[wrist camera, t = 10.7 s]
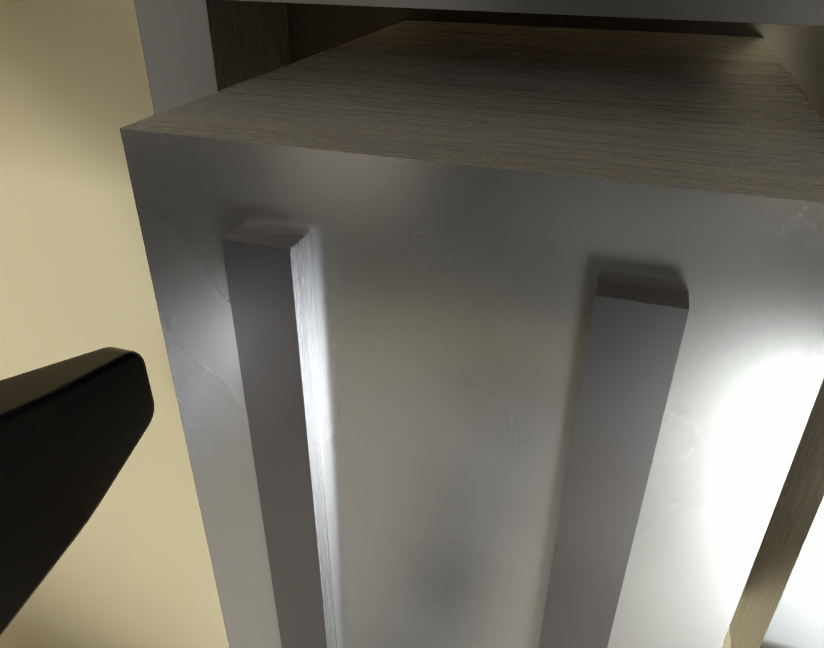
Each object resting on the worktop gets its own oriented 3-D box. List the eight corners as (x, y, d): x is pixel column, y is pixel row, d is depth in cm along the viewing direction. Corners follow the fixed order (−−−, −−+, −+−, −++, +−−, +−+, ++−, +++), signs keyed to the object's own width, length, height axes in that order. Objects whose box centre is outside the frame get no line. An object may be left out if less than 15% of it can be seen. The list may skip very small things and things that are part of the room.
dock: (794, 618, 12) (823, 793, 10) (280, 487, 15) (203, 599, 13) (1124, -112, 7) (1386, -130, 4) (204, -109, 9) (37, -117, 7)
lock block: (644, 514, 12) (622, 929, 7) (407, 459, 14) (247, 782, 8) (762, 37, 8) (896, 225, 3) (408, 19, 9) (99, 137, 4)
